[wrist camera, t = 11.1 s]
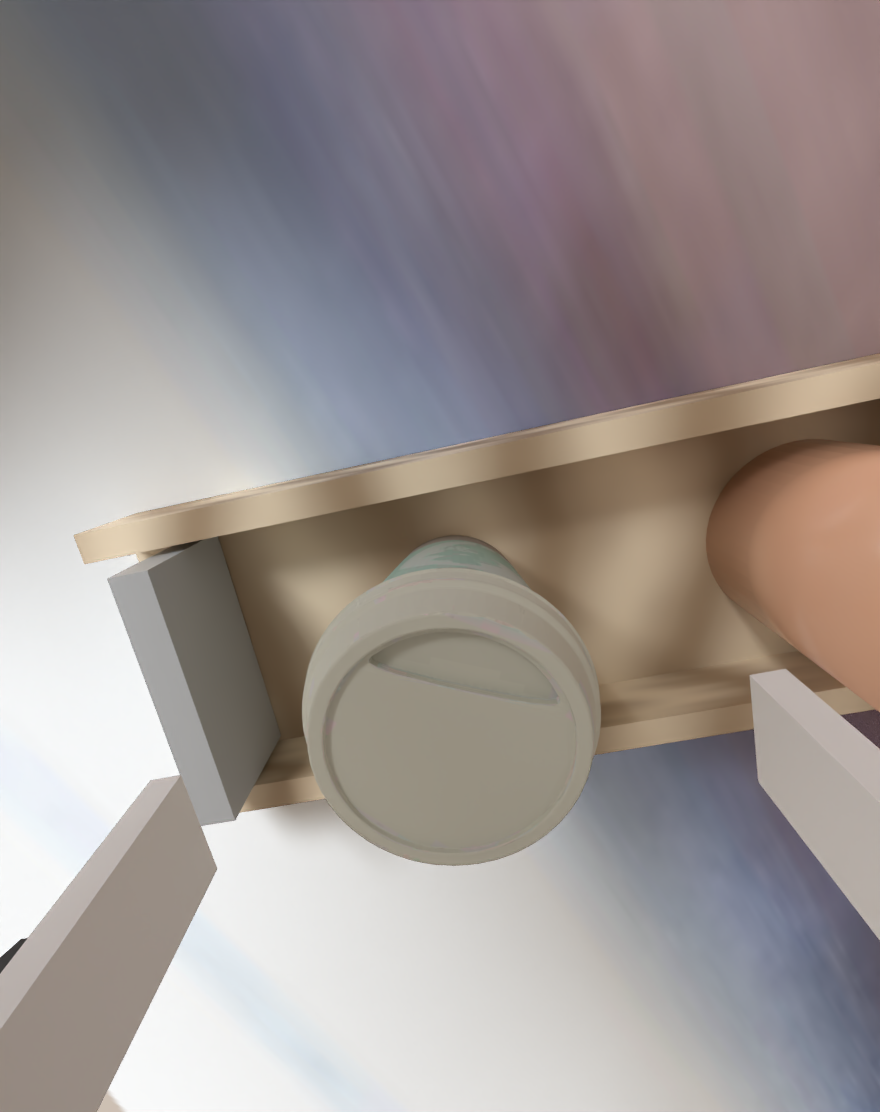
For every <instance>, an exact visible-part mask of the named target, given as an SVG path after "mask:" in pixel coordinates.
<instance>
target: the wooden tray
mask: <svg viewBox="0 0 880 1112" xmlns="http://www.w3.org/2000/svg"><path fill="white" fill-rule="evenodd" d="M805 439H826V440H835V441H843V442H852V443H861V444H869V445H878V446H880V353H879V354H874V355H870V356H865V357H860V358H856V359H851V360H846V361H842V362H837V363H832V364H828V365H823V366H819V367H814V368H809V369H805V370H800V371H795V372H791V373H786V374H781V375H777V376H772V377H767V378H763V379H758V380H754V381H749V382H744V383H740V384H735V385H730V386H726V387H721V388H716V389H712V390H707V391H702V392H698V393H693V394H688V395H684V396H679V397H675V398H670V399H665V400H661V401H656V402H651V403H647V404H642V405H637V406H633V407H628V408H623V409H619V410H614V411H609V412H605V413H600V414H596V415H591V416H586V417H582V418H577V419H572V420H568V421H563V422H558V423H554V424H549V425H544V426H540V427H535V428H531V429H526V430H521V431H517V432H512V433H507V434H503V435H498V436H493V437H489V438H484V439H479V440H475V441H470V442H465V443H461V444H456V445H452V446H447V447H442V448H438V449H433V450H428V451H424V452H419V453H414V454H410V455H405V456H400V457H396V458H391V459H387V460H382V461H377V462H373V463H368V464H363V465H359V466H354V467H349V468H345V469H340V470H335V471H331V472H326V473H321V474H317V475H312V476H308V477H303V478H298V479H294V480H289V481H284V482H280V483H275V484H270V485H266V486H261V487H256V488H252V489H247V490H242V491H238V492H233V493H229V494H224V495H219V496H215V497H210V498H205V499H201V500H196V501H191V502H187V503H182V504H177V505H173V506H168V507H164V508H159V509H154V510H150V511H145V512H140V513H136V514H133V515H130V516H127V517H124V518H121V519H118V520H116V521H113V522H110V523H107V524H104V525H101V526H99V527H96V528H93V529H90V530H87V531H84V532H81V533H79V534H76V535H74V538H75V541H76V543H77V546H78V548H79V551H80V554H81V556H82V559H83V562H84V564H88V563H93V562H98V561H102V560H107V559H112V558H117V557H122V556H126V555H131V554H136V555H137V558H138V560H139V562H141V561H143V560H145V559H147V558H149V557H151V556H153V555H155V554H157V553H159V552H161V551H163V550H165V549H167V548H169V547H171V546H174V545H179V544H184V543H189V542H194V541H198V540H203V539H208V538H213V537H218V538H219V542H220V545H221V548H222V551H223V554H224V557H225V560H226V564H227V567H228V570H229V573H230V576H231V579H232V583H233V586H234V589H235V592H236V595H237V598H238V602H239V605H240V608H241V611H242V614H243V617H244V620H245V624H246V627H247V630H248V633H249V636H250V639H251V643H252V646H253V649H254V652H255V655H256V658H257V661H258V665H259V668H260V671H261V674H262V677H263V680H264V684H265V687H266V690H267V693H268V696H269V699H270V703H271V706H272V709H273V712H274V715H275V718H276V721H277V725H278V728H279V731H280V734H281V737H280V739H279V740H278V742H277V744H276V746H275V748H274V750H273V752H272V753H271V755H270V757H269V759H268V761H267V763H266V764H265V766H264V768H263V770H262V772H261V774H260V775H259V777H258V779H257V781H256V783H255V785H254V787H253V788H252V790H251V792H250V794H249V796H248V798H247V799H246V801H245V803H244V805H243V807H242V809H241V811H240V812H246V811H253V810H259V809H265V808H271V807H277V806H283V805H290V804H296V803H302V802H308V801H314V800H320V799H325V797H324V795H323V794H322V792H321V790H320V788H319V786H318V784H317V782H316V780H315V777H314V774H313V771H312V768H311V765H310V760H309V755H308V749H307V743H306V739H305V735H304V730H303V721H302V699H303V691H304V686H305V680H306V674H307V670H308V666H309V663H310V660H311V657H312V654H313V652H314V650H315V648H316V645H317V643H318V642H319V640H320V638H321V636H322V635H323V633H324V631H325V630H326V629H327V627H328V626H329V624H330V623H331V622H332V621H333V619H334V618H335V617H336V616H337V615H338V614H339V613H340V612H341V611H342V610H343V609H344V608H345V607H346V606H347V605H348V604H349V603H351V602H352V601H353V600H354V599H356V598H357V597H358V596H360V595H361V594H363V593H364V592H366V591H367V590H369V589H371V588H373V587H374V586H376V585H378V584H380V583H382V582H383V581H384V580H385V579H386V578H387V577H388V576H389V575H390V574H391V573H392V572H393V570H394V569H395V568H396V567H397V566H398V565H399V564H400V563H401V562H402V561H403V560H404V559H405V558H406V557H407V556H408V555H409V554H410V553H411V552H412V551H413V550H414V549H416V548H417V547H419V546H420V545H422V544H423V543H425V542H427V541H430V540H432V539H435V538H438V537H443V536H450V535H461V536H468V537H473V538H476V539H479V540H482V541H484V542H486V543H488V544H490V545H491V546H493V547H494V548H496V549H497V550H498V551H499V552H500V553H501V554H502V555H503V556H504V557H505V558H506V559H507V560H508V561H509V563H510V564H511V565H512V566H513V567H514V569H515V570H516V571H517V572H518V574H519V575H520V576H521V577H522V579H523V580H524V581H525V582H526V584H527V585H528V586H529V587H530V589H531V590H532V591H534V592H535V593H537V594H539V595H540V596H542V597H543V598H544V599H546V600H547V601H548V602H550V603H551V604H552V605H553V606H554V607H555V608H557V609H558V610H559V611H560V612H561V613H562V614H563V615H564V616H565V617H566V619H567V620H568V621H569V622H570V623H571V624H572V626H573V627H574V628H575V630H576V631H577V633H578V634H579V636H580V637H581V639H582V640H583V642H584V644H585V646H586V648H587V650H588V652H589V654H590V656H591V659H592V661H593V664H594V667H595V671H596V675H597V679H598V685H599V692H600V704H601V726H600V734H599V740H598V744H597V748H596V751H595V755H597V754H604V753H610V752H616V751H622V750H628V749H634V748H641V747H647V746H653V745H659V744H665V743H671V742H678V741H684V740H690V739H696V738H702V737H708V736H714V735H721V734H727V733H733V732H739V731H745V730H751V729H754V724H753V712H752V700H751V687H750V675H753V674H758V673H764V672H770V671H775V670H781V669H787V670H788V671H789V672H790V673H791V674H792V675H794V676H795V677H796V678H797V679H798V680H799V681H801V682H802V683H803V684H804V685H805V686H806V687H808V688H809V689H810V690H811V691H812V692H813V693H815V694H816V695H817V696H818V697H819V698H821V699H822V700H823V701H824V702H825V703H826V704H828V705H829V706H830V707H831V708H832V709H833V710H835V711H836V712H837V713H838V714H839V715H844V714H850V713H856V712H862V711H868V710H875V708H873V707H872V706H871V705H869V704H868V703H867V702H865V701H864V700H863V699H861V698H860V697H859V696H858V695H856V694H855V693H854V692H852V691H851V690H850V689H848V688H847V687H846V686H844V685H843V684H842V683H840V682H839V681H838V680H836V679H835V678H834V677H832V676H831V675H830V674H828V673H827V672H826V671H824V670H823V669H822V668H820V667H819V666H818V665H817V664H815V663H814V662H813V661H811V660H810V659H809V658H807V657H806V656H805V655H803V654H802V653H801V652H799V651H798V650H797V649H795V648H794V647H793V646H791V645H790V644H789V643H787V642H786V641H785V640H783V639H782V638H781V637H779V636H778V635H777V634H776V633H774V632H773V631H772V630H770V629H769V628H768V627H766V626H765V625H764V624H762V623H761V622H760V621H758V620H757V619H756V618H754V617H753V616H752V615H750V614H749V613H748V612H746V611H745V610H744V609H742V608H741V607H740V606H738V605H737V604H736V603H735V602H733V601H732V600H731V599H730V598H729V597H728V596H727V595H726V594H725V593H724V592H723V591H722V589H721V588H720V587H719V585H718V584H717V582H716V580H715V578H714V576H713V574H712V572H711V569H710V566H709V563H708V558H707V552H706V534H707V527H708V522H709V518H710V515H711V512H712V510H713V507H714V504H715V502H716V501H717V499H718V497H719V495H720V493H721V492H722V490H723V489H724V487H725V486H726V484H727V483H728V482H729V481H730V480H731V478H732V477H733V476H734V475H735V474H736V473H737V472H738V471H739V470H740V469H741V468H742V467H743V466H745V465H746V464H747V463H748V462H750V461H751V460H753V459H754V458H755V457H757V456H758V455H760V454H762V453H764V452H766V451H768V450H769V449H772V448H774V447H777V446H779V445H782V444H785V443H789V442H793V441H798V440H805ZM240 812H239V813H240Z"/></svg>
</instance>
